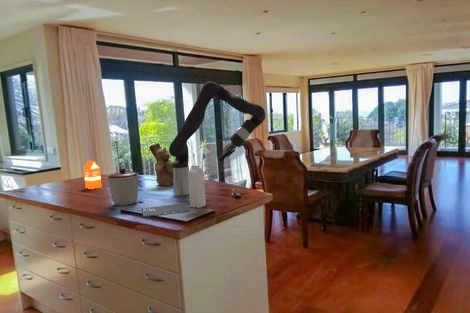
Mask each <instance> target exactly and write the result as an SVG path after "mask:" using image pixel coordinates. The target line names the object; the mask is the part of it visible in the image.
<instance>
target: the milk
mask: <svg viewBox="0 0 470 313" xmlns="http://www.w3.org/2000/svg"><path fill="white" fill-rule="evenodd" d="M204 173H205V172H204V170H203V169H201V167H200V165H191V167H190V169H188V181H189V194H188V195H189V205H190V208H195V207H197V208H196V209H200V208H203V207H205V206H206V205H207V202H206V190H205V189H206V187H205V174H204Z"/></svg>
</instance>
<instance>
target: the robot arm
mask: <svg viewBox="0 0 470 313" xmlns="http://www.w3.org/2000/svg"><path fill="white" fill-rule="evenodd" d="M212 99H217V100H220V101H222V102H225V103H226V104H228V105H229V106H230V107H232V108H233V109H234V110H236V111H238V112H240V113H242V114H244V115H250V116H251V117H250V118H249V119H245V121H243V123H242V124H241V125H240V126H239V127H238V128H237V129H236V130H235V131H234V133H233V134H232V135H231V136H230V138H229V142H230V143H228V144H227V145H225V146H224V149H223V150H222V151H221V155H220V156H219V158H218V159H217V160H218V161H219V163H223V161H224V160H225V159H226V158H228V157H229V156H231V155H233V153H235V151H236V149H237V148H241V147H242V146H243V145H244V143H245V142H246V141H247V140H248V138H249V137H250V136H251V134H252V133H253V132H254V131H255V130H256V129H257V128H258V127H259V126H260V125H262V124H263V122H264V121H265V120H266V110H265V109H264V107H262V106H261V105H259V104H256V103H253V102H249V101H248V100H246V99H244V98H242V97H240V96H238V95H236V94H234V93H233V92H230V91H228V90H227V89H226V88H224V86H222V85H221V84H219V82H214V81H207V82H205V83H204V85H202V88H201V90H200V92H199V95H198V97H197V99H196V100H195V103H194V104H193V106H192V108H191V110H190V111H189V113H188V114H187V117H186V119H185V121H184V122H183V124H182V126H181V128H180V129H179V131H178V133H177V134H176V136H175V137H174V139H173V140H172V142H171V143H170V145H169V147H168V153H169V155H170V157H171V156H172V157H173V158H174V157H175V159H174V161H172V162H173V175H174V180H173V185H172V190H173V192H172V193H173V196H179V197H181V196H183V197H184V196H188V195H189V181H188V171H189V159H190V157H189V156H190V155H189V152H190V151H189V146H188V144H187V142H188V141H189V139H190V138H191V137H192V136H193V135H194V134H195V133H196V132H197V131H198V130H199V129H200V127H201V125H202V123H203V121H204V120H205V115H206V109H207V107H208V105H209V104H210V102H211V101H212Z"/></svg>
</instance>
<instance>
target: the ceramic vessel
mask: <svg viewBox="0 0 470 313" xmlns="http://www.w3.org/2000/svg"><path fill="white" fill-rule="evenodd" d="M148 148H149V151H150V152H151V153H152V155H153V157H154V158H155V160H156V163H155V165H154V170H155V173H156V179H155V180H156V183H157V184H158V186H162V187H165V186H166V187H169V186H170V187H171V186H173V180H174V175H173V162H174V161H171V160H170V157H171V155H170V153H169V150H167V149H166V147H163V148H162V147H161V144H160V143H159V142H158V143H153V144H151V145H150V146H149V147H148Z"/></svg>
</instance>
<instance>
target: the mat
mask: <svg viewBox="0 0 470 313" xmlns="http://www.w3.org/2000/svg"><path fill="white" fill-rule="evenodd" d="M144 208H145V209H146V211H144V212H142V211H141V212H142V217H143V218H149V217H155V216H154V215H157V216H159V215H158V214H164V213H172V212H180V211H187V210H190V208H189V206H187V205H186V203H185V202H182V203H175V204H174V203H173V204H165V205H160V206H158V205H157V206H150V207H144ZM149 208H150V210H151V209H153V210H154V209H155V211H153V210H152V211H149V210H147V209H149ZM187 212H188V211H187ZM180 213H181V212H180ZM172 214H173V213H172Z"/></svg>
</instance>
